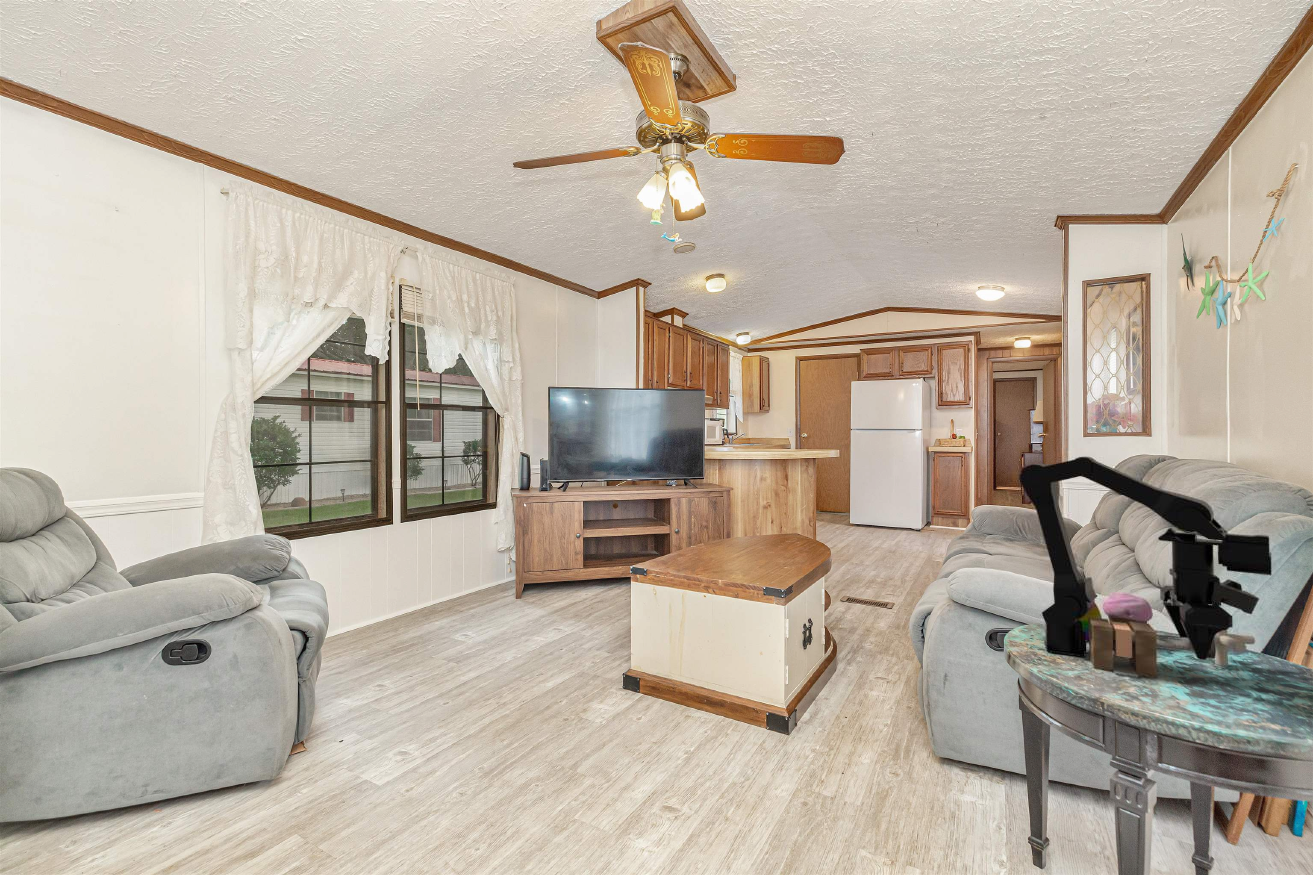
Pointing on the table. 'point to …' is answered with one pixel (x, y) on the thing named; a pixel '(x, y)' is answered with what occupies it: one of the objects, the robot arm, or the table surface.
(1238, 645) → the pipe connector
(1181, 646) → the shaft
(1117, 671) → the mat
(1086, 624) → the decorative egg
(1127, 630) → the spacer
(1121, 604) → the cupcake
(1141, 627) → the pillow blocks
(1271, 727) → the table surface
